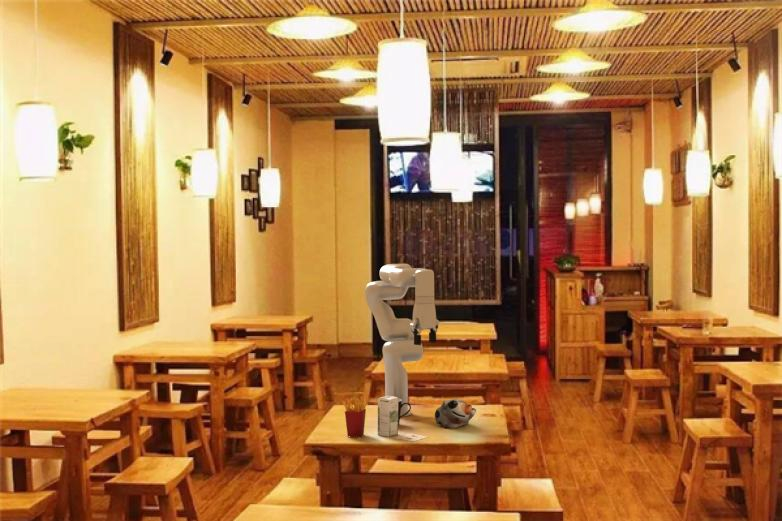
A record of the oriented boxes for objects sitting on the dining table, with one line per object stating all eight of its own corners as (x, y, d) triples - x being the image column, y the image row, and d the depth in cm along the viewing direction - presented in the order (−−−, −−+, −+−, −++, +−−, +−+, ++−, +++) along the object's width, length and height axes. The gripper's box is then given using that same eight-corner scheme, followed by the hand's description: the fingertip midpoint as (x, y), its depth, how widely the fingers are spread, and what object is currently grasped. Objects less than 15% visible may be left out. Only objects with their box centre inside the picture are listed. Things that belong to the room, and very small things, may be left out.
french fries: (361, 438, 338) (360, 398, 338) (340, 437, 341) (340, 397, 340) (368, 433, 347) (367, 394, 346) (348, 432, 349) (347, 393, 349)
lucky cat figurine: (469, 421, 366) (479, 394, 360) (468, 439, 355) (478, 411, 349) (434, 411, 365) (443, 384, 359) (431, 428, 355) (441, 400, 349)
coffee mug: (377, 426, 359) (377, 401, 358) (385, 422, 367) (384, 397, 366) (404, 428, 355) (404, 403, 354) (411, 423, 363) (411, 399, 362)
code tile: (394, 438, 338) (394, 437, 338) (409, 433, 345) (409, 433, 345) (413, 441, 332) (413, 441, 332) (428, 437, 339) (428, 436, 339)
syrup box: (386, 432, 348) (386, 395, 347) (398, 434, 344) (398, 396, 344) (377, 435, 343) (377, 397, 343) (389, 437, 340) (389, 399, 339)
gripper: (430, 298, 364) (430, 340, 365) (403, 301, 351) (404, 345, 351) (445, 299, 359) (445, 342, 360) (418, 302, 346) (419, 346, 347)
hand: (425, 343), depth 356 cm, fingers open, 9 cm apart
